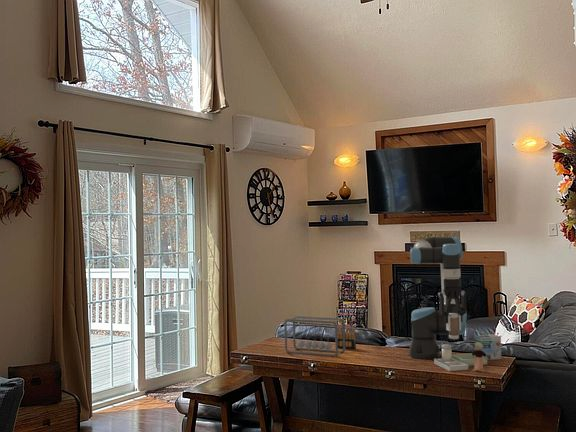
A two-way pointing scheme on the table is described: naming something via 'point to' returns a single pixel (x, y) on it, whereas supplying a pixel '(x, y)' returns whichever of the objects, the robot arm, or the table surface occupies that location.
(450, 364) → the white flat frame
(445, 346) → the fuse
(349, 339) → the ammunition clip
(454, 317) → the white and tan cylinder
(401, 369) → the table surface
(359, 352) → the table surface
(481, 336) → the light bulb box
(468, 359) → the parts tray
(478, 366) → the grandmother figurine
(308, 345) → the newton's cradle
